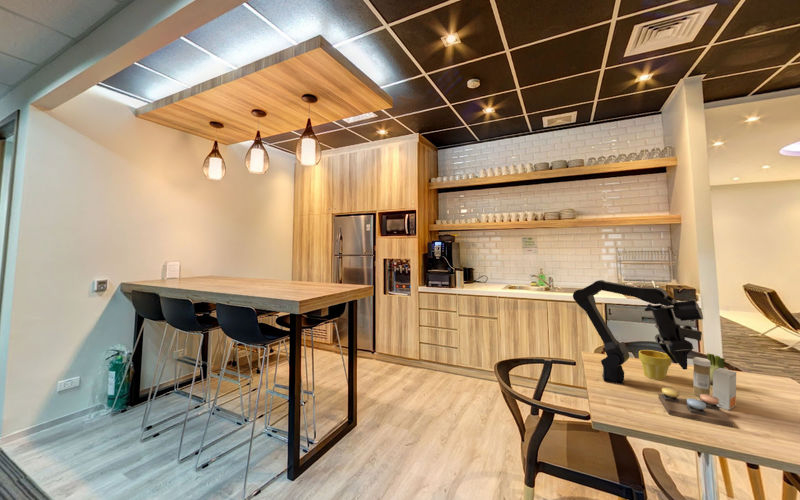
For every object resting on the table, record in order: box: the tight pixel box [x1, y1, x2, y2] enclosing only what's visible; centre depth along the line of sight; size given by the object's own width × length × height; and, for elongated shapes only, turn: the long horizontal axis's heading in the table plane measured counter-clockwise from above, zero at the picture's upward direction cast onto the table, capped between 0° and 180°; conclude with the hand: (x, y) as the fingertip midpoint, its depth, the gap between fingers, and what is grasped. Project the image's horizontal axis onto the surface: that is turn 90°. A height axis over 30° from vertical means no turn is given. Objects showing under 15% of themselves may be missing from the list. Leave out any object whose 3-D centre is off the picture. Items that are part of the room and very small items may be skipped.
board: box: [658, 393, 734, 428], centre depth 100 cm, size 15×12×2 cm
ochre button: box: [661, 387, 680, 398], centre depth 105 cm, size 4×4×2 cm
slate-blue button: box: [686, 398, 706, 410], centre depth 98 cm, size 4×4×2 cm
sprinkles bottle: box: [692, 356, 711, 398], centre depth 111 cm, size 5×5×14 cm
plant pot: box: [638, 349, 672, 381], centre depth 127 cm, size 10×10×10 cm
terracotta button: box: [699, 394, 719, 405], centre depth 101 cm, size 4×4×2 cm
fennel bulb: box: [706, 352, 726, 386], centre depth 120 cm, size 6×5×12 cm
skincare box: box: [712, 368, 737, 411], centre depth 104 cm, size 6×4×12 cm
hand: (680, 366), depth 108 cm, fingers open, 9 cm apart
